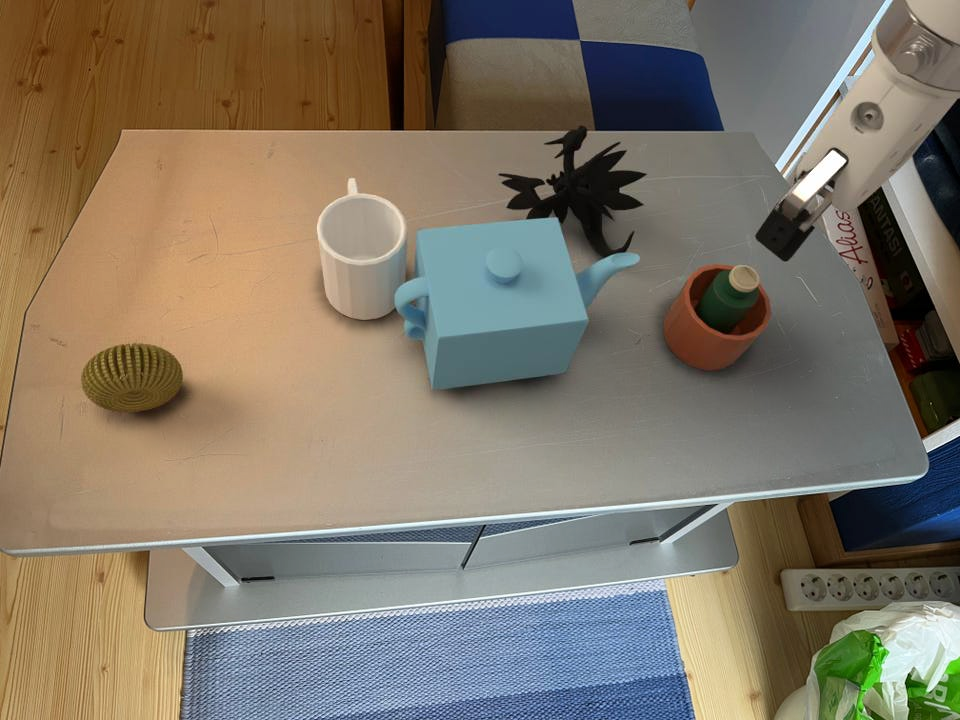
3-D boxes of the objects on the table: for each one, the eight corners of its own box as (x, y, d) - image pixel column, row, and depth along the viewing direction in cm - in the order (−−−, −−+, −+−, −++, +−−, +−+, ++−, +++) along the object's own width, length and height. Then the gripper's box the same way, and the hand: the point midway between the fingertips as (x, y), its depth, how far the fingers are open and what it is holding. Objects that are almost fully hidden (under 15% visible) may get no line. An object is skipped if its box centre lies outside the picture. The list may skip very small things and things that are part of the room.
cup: (758, 339, 78) (787, 307, 73) (708, 385, 75) (735, 355, 69) (697, 285, 81) (721, 250, 75) (646, 328, 78) (667, 294, 72)
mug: (391, 220, 80) (391, 156, 72) (411, 314, 75) (414, 258, 66) (315, 229, 79) (306, 164, 70) (330, 325, 74) (323, 268, 65)
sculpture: (189, 369, 70) (167, 326, 63) (194, 407, 68) (172, 367, 61) (98, 387, 68) (64, 346, 61) (101, 427, 66) (67, 389, 59)
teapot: (402, 402, 71) (405, 330, 58) (385, 303, 75) (385, 217, 63) (619, 372, 75) (664, 299, 63) (590, 280, 80) (627, 196, 67)
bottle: (733, 333, 78) (777, 280, 69) (707, 356, 76) (749, 305, 67) (701, 305, 79) (741, 249, 70) (675, 327, 77) (712, 273, 68)
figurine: (535, 270, 87) (488, 261, 77) (530, 162, 87) (482, 140, 77) (671, 255, 79) (637, 244, 69) (665, 136, 79) (631, 108, 69)
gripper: (926, 135, 41) (782, 305, 55) (1060, 17, 47) (899, 197, 62) (815, 58, 43) (705, 242, 58) (958, -45, 50) (827, 143, 64)
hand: (806, 218), depth 60 cm, fingers open, 9 cm apart
